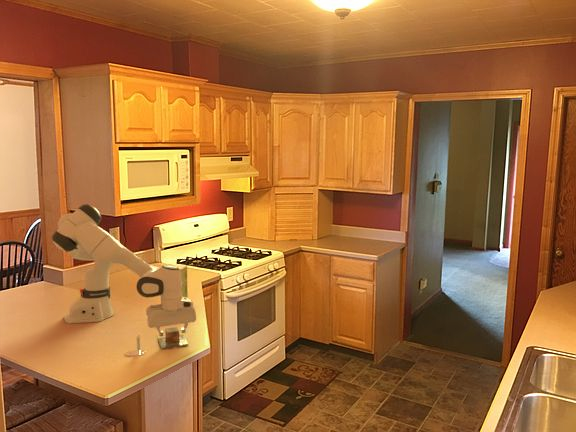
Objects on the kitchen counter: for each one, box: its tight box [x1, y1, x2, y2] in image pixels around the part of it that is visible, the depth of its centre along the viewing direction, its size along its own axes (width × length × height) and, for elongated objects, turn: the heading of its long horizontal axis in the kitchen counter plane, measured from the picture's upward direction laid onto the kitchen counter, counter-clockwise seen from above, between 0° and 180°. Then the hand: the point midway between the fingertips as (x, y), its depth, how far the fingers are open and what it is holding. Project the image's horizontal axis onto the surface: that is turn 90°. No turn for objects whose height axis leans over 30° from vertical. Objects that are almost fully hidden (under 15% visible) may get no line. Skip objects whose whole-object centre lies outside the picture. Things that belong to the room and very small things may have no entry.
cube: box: [164, 326, 180, 344], centre depth 210 cm, size 5×5×5 cm
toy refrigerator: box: [174, 264, 189, 298], centre depth 257 cm, size 8×7×21 cm
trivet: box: [157, 334, 189, 350], centre depth 211 cm, size 11×11×1 cm
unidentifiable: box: [124, 334, 146, 357], centre depth 199 cm, size 8×5×8 cm
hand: (172, 334), depth 210 cm, fingers open, 8 cm apart
